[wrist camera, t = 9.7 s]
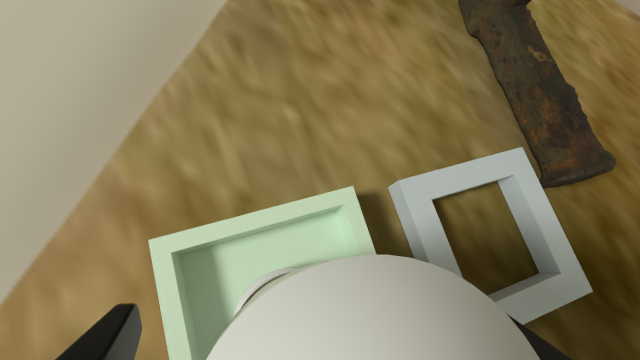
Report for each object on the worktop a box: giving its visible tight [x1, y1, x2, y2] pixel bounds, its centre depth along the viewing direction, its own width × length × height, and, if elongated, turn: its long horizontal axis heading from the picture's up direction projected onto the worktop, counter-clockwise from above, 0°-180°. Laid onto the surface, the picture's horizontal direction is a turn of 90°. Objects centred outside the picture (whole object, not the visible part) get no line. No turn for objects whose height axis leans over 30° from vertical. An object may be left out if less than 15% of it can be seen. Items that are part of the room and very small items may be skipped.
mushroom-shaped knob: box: [206, 255, 540, 360], centre depth 9 cm, size 5×5×12 cm
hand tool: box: [458, 0, 616, 188], centre depth 22 cm, size 19×4×5 cm, turn 14°
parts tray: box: [148, 186, 376, 360], centre depth 15 cm, size 11×10×2 cm
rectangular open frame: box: [388, 147, 593, 325], centre depth 19 cm, size 10×10×2 cm
